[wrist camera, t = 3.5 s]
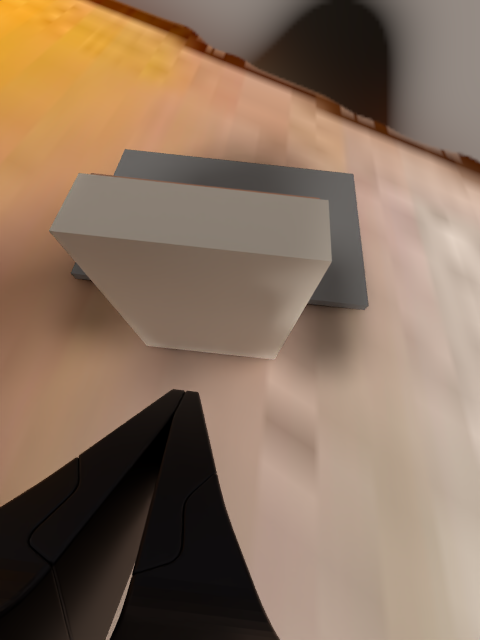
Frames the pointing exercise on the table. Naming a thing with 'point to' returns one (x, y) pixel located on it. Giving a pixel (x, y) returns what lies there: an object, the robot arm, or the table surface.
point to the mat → (347, 259)
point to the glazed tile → (198, 259)
